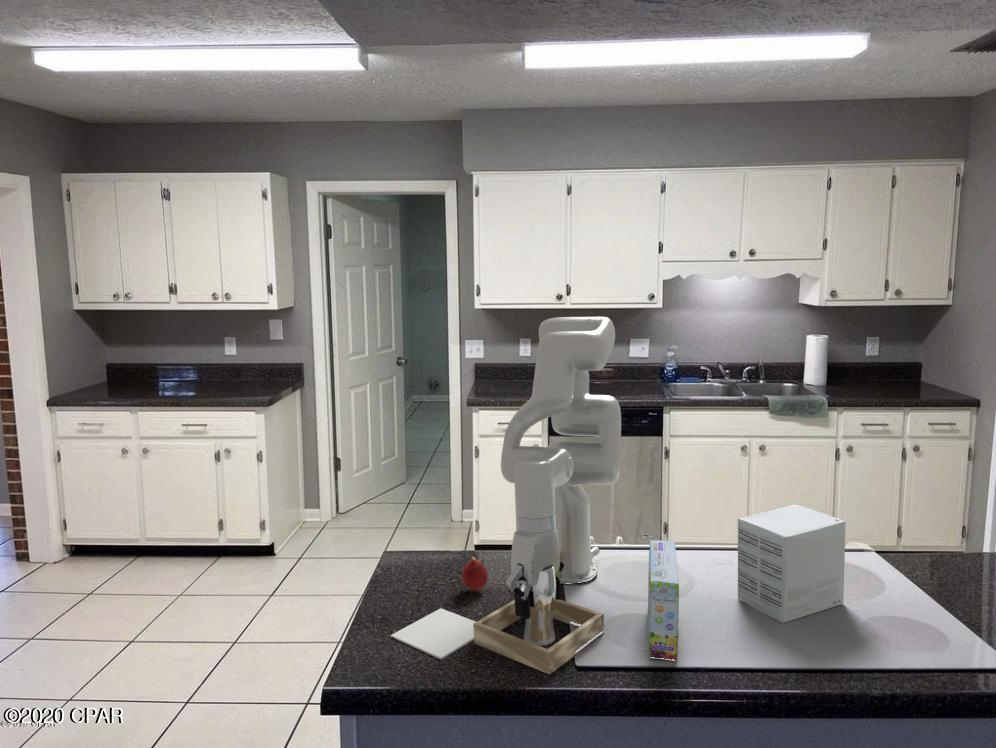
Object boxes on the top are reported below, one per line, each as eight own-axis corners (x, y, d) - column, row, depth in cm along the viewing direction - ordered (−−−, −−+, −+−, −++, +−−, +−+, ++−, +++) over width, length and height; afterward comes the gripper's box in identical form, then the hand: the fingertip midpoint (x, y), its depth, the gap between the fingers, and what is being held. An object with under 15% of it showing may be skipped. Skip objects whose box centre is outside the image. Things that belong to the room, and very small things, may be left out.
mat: (440, 610, 152) (440, 608, 152) (490, 629, 143) (490, 627, 143) (390, 636, 141) (390, 635, 141) (441, 659, 132) (441, 657, 132)
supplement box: (793, 581, 159) (795, 502, 157) (845, 604, 147) (848, 520, 145) (734, 598, 152) (735, 517, 149) (783, 625, 140) (785, 537, 137)
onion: (492, 588, 161) (491, 554, 160) (481, 598, 156) (480, 564, 155) (469, 584, 164) (468, 550, 163) (458, 594, 159) (456, 560, 158)
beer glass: (563, 634, 140) (561, 561, 137) (546, 651, 134) (544, 575, 132) (532, 626, 143) (530, 555, 141) (515, 642, 137) (512, 567, 135)
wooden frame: (531, 607, 151) (530, 590, 150) (604, 633, 139) (603, 613, 139) (474, 643, 138) (473, 623, 137) (549, 674, 126) (548, 653, 125)
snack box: (680, 663, 128) (680, 583, 126) (648, 660, 129) (647, 581, 127) (675, 608, 149) (675, 539, 146) (648, 606, 150) (647, 538, 148)
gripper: (547, 506, 144) (549, 586, 146) (490, 531, 131) (494, 619, 133) (577, 512, 139) (579, 596, 142) (522, 539, 126) (526, 630, 129)
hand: (538, 607), depth 138 cm, fingers open, 9 cm apart
